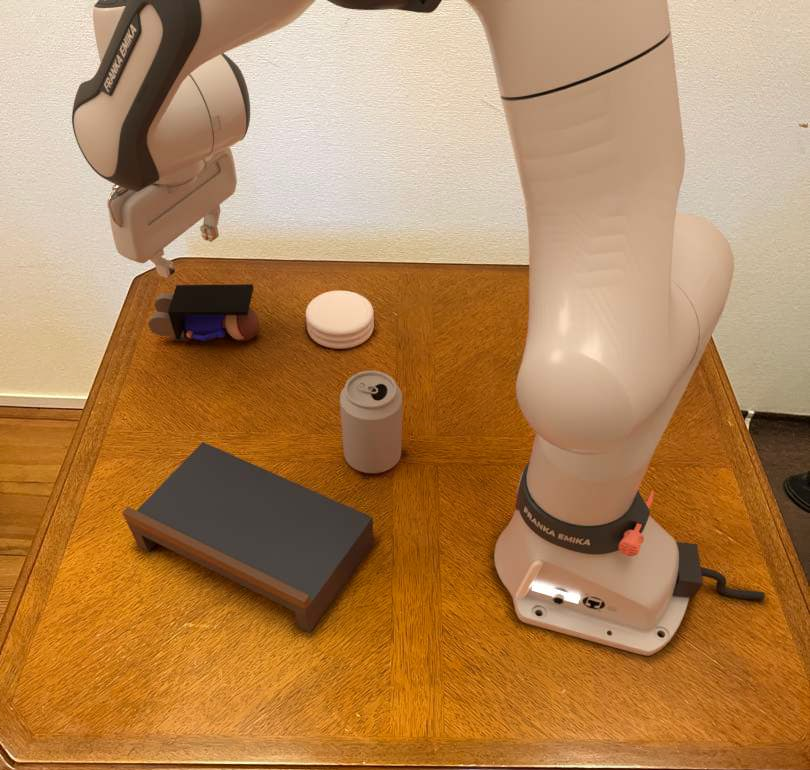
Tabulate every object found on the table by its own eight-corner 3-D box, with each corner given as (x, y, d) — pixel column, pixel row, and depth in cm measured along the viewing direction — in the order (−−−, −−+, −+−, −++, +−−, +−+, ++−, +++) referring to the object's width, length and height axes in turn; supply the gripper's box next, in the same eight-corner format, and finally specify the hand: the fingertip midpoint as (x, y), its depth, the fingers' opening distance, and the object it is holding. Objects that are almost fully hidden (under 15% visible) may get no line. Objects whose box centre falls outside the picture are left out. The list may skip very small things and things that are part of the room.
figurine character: (160, 357, 109) (259, 350, 107) (140, 314, 102) (245, 306, 101) (169, 328, 112) (265, 321, 111) (150, 285, 106) (252, 277, 105)
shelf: (373, 542, 88) (372, 508, 83) (310, 633, 81) (304, 602, 75) (210, 468, 94) (199, 432, 89) (138, 546, 87) (121, 512, 82)
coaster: (297, 342, 109) (294, 323, 106) (321, 302, 115) (319, 283, 112) (361, 356, 107) (360, 337, 104) (382, 315, 113) (382, 296, 110)
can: (394, 482, 93) (395, 413, 84) (337, 472, 94) (331, 403, 84) (406, 440, 98) (408, 370, 88) (351, 431, 99) (347, 361, 89)
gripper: (126, 200, 81) (157, 305, 93) (236, 123, 92) (252, 226, 103) (82, 184, 83) (118, 289, 94) (195, 110, 94) (215, 213, 105)
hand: (189, 255), depth 99 cm, fingers open, 8 cm apart
